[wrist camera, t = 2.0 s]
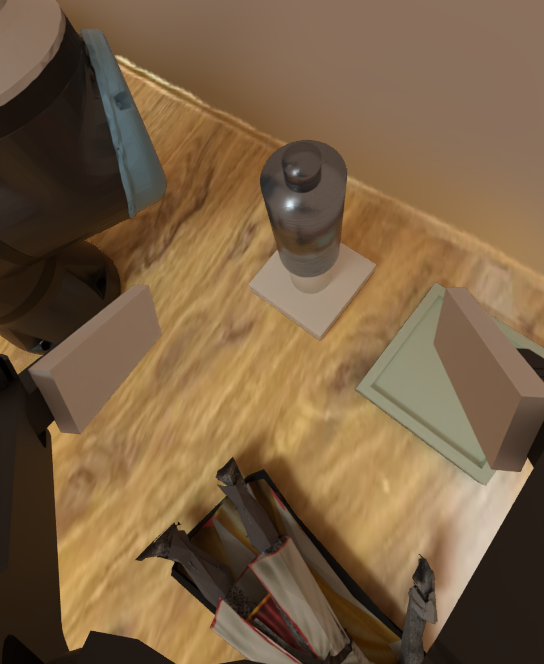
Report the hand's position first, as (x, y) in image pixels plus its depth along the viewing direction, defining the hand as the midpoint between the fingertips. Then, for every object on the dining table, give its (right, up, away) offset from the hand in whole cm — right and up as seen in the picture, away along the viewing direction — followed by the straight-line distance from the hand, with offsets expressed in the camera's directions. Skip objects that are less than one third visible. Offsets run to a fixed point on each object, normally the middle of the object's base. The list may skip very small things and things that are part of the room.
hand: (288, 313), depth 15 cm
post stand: (+4, +5, +24) cm, 25 cm away
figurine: (+3, -27, +17) cm, 32 cm away
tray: (+18, -6, +19) cm, 27 cm away
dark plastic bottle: (+3, +7, +16) cm, 18 cm away
